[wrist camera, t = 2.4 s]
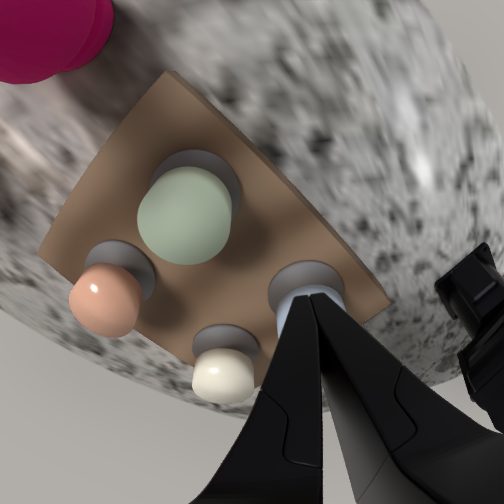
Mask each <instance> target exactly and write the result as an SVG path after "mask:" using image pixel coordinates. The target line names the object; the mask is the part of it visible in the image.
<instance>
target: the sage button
mask: <svg viewBox="0 0 504 504" xmlns="http://www.w3.org/2000/svg"><path fill="white" fill-rule="evenodd" d="M231 215H232V201H231V197H230V194H229V192H228V190H227V188H226V186H225V185H224V184H223V182H222V181H221V180H220V179H219V178H218V177H216V176H215V175H214V174H212V173H211V172H209V171H207V170H204V169H201V168H198V167H189V166H186V167H179V168H175V169H172V170H170V171H168V172H166V173H165V174H163V175H162V176H161V177H160V178H159V179H158V180H157V181H156V182H155V183H154V185H153V186H152V187H151V189H150V190H149V191H148V193H147V194H146V195H145V197H144V198H143V200H142V202H141V204H140V206H139V209H138V214H137V223H138V229H139V232H140V235H141V237H142V239H143V241H144V242H145V244H146V245H147V246H148V248H149V249H150V250H151V251H152V252H153V253H155V254H156V255H157V256H159V257H160V258H162V259H164V260H166V261H169V262H172V263H175V264H180V265H194V264H199V263H202V262H205V261H207V260H209V259H211V258H213V257H214V256H216V255H217V254H218V253H219V252H220V251H221V250H222V248H223V247H224V246H225V244H226V242H227V240H228V237H229V233H230V226H231Z"/></svg>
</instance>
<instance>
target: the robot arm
mask: <svg viewBox="0 0 504 504" xmlns="http://www.w3.org/2000/svg"><path fill="white" fill-rule="evenodd" d="M439 285H440V286H439ZM434 287H435V289H436V290H437V292H438V294H439V296H440V297H441V299H442V301H443V303H444V304H445V306H446V308H447V310H448V312H449V314H450V315H451V317H452V319H453V320H455V319H457V318H459V319H460V321H461V323H462V324H463V326H464V327H465V329H466V330H467V332H468V334H469V335H470V337H471V338H472V341H471V342H470V343H469V344H468V345H467V346H466V347H465V348H464V349H463V350H461V351H460V352H459V353H458V354H457V356H458V359H459V364H460V367H461V371H462V374H463V377H464V380H465V384H466V387H467V390H468V394H469V395H470V399H471V401H472V402H476V404H477V405H478V406H479V407H480V408H482V409H483V410H485V411H487V413H488V415H489V417H490V419H491V421H492V423H493V425H494V427H495V429H496V430H498V431H500V432H501V433H503V434H501V433H497V432H494V431H491V430H489V429H486V428H485V427H483V426H481V425H479V424H478V423H477V422H475V421H474V420H472V419H471V418H470V417H468V416H467V415H466V414H464V413H463V412H461V411H460V410H459V409H457V408H456V407H454V406H453V405H452V404H450V403H449V402H448V401H446V400H445V399H444V398H442V397H441V396H440V395H438V394H437V393H436V392H435V391H433V390H432V389H430V388H429V387H428V386H427V385H426V384H425V383H423V382H422V381H421V380H420V379H419V378H418V377H417V376H415V375H414V374H413V373H412V372H411V371H410V370H409V369H408V368H407V367H406V366H404V365H403V366H402V363H401V362H400V361H399V360H398V359H397V358H396V357H395V356H394V355H393V354H392V353H390V352H389V351H388V350H387V349H386V348H385V347H384V346H383V345H382V344H381V343H380V342H379V341H377V340H376V339H375V338H374V337H373V336H372V335H371V334H370V333H369V332H368V331H367V330H365V329H364V328H363V327H362V326H361V325H360V324H359V323H358V322H357V321H356V320H355V319H353V318H352V317H351V316H350V315H349V314H348V313H347V312H346V311H345V310H344V309H342V308H341V307H340V306H339V305H338V304H337V303H336V302H335V301H334V300H332V299H331V298H330V297H329V296H328V295H327V294H326V293H324V292H320V293H313V294H310V296H309V295H299V296H295V297H294V298H293V300H292V303H291V306H290V308H289V311H288V314H287V317H286V320H285V323H284V326H283V328H282V331H281V334H280V337H279V340H278V342H277V345H276V348H275V351H274V353H273V356H272V359H271V362H270V364H269V367H268V370H267V372H266V375H265V378H264V380H263V383H262V386H261V388H260V389H261V390H260V391H259V393H258V395H257V398H256V401H255V403H254V405H253V408H252V410H251V412H250V414H249V417H248V419H247V421H246V423H245V425H244V426H243V428H242V430H241V432H240V434H239V436H238V437H237V439H236V441H235V443H234V444H233V446H232V447H231V449H230V451H229V452H228V454H227V455H226V457H225V459H224V460H223V462H222V463H221V465H220V467H219V468H218V470H217V471H216V473H215V474H214V476H213V477H212V479H211V481H210V482H209V483H208V485H207V486H206V487H205V488H204V490H203V491H202V492H201V493H200V494H199V495H198V496H197V497H196V498H195V499H194V500H193V501H191V502H190V503H189V504H323V470H322V469H323V422H322V387H321V381H322V384H323V388H324V391H325V394H326V398H327V401H328V405H329V408H330V411H331V414H332V418H333V421H334V425H335V429H336V432H337V436H338V439H339V443H340V446H341V450H342V453H343V457H344V460H345V464H346V468H347V471H348V475H349V479H350V482H351V486H352V490H353V493H354V497H355V501H356V503H357V504H504V278H503V277H502V276H501V275H500V273H499V272H498V271H497V270H496V267H495V263H494V260H493V257H492V254H491V251H490V248H489V246H488V244H487V243H485V242H483V243H482V244H480V245H479V246H478V247H477V248H476V249H475V250H474V251H473V252H471V253H470V254H469V255H468V256H467V257H466V258H464V259H463V260H462V261H461V262H460V263H458V264H457V265H456V266H455V267H454V268H452V269H451V270H450V271H449V272H448V273H446V274H445V275H444V276H443V277H441V278H440V279H439V280H438V281H436V283H435V285H434Z"/></svg>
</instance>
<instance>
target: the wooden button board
mask: <svg viewBox="0 0 504 504" xmlns="http://www.w3.org/2000/svg"><path fill="white" fill-rule="evenodd" d="M186 166H189V167H198V168H201V169H204V170H207V171H209V172H211V173H212V174H214V175H215V176H216V177H218V178H219V179H220V180H221V181H222V182H223V184H224V185H225V186H226V188H227V190H228V192H229V194H230V197H231V201H232V215H231V226H230V233H229V237H228V240H227V242H226V244H225V246H224V247H223V248H222V250H221V251H220V252H219V253H218V254H217V255H216V256H214V257H213V258H211V259H209V260H207V261H205V262H202V263H199V264H194V265H180V264H175V263H172V262H169V261H166V260H164V259H162V258H160V257H159V256H157V255H156V254H155V253H153V252H152V251H151V250H150V249H149V248H148V246H147V245H146V244H145V242H144V241H143V239H142V237H141V235H140V232H139V229H138V223H137V214H138V209H139V206H140V204H141V202H142V200H143V198H144V197H145V195H146V194H147V193H148V191H149V190H150V189H151V187H152V186H153V185H154V183H155V182H156V181H157V180H158V179H159V178H160V177H161V176H162V175H163V174H165V173H166V172H168V171H170V170H172V169H175V168H179V167H186ZM37 255H39V256H40V257H41V258H42V259H43V260H44V261H45V262H47V263H48V264H49V265H50V266H51V267H53V268H54V269H55V270H56V271H57V272H59V273H60V274H61V275H62V276H63V277H65V278H66V279H67V280H68V281H70V282H71V283H72V284H73V285H75V284H76V283H77V281H78V280H79V278H80V277H81V275H82V273H83V272H84V270H85V269H86V268H87V267H89V266H90V265H92V264H95V263H99V262H106V263H112V264H115V265H118V266H120V267H122V268H123V269H125V270H127V271H128V272H129V273H130V274H131V275H133V277H134V278H135V279H136V280H137V281H138V283H139V285H140V287H141V289H142V292H143V303H142V305H141V308H140V311H139V314H138V316H137V319H136V322H135V325H134V327H133V329H135V330H136V331H138V332H139V333H141V334H142V335H144V336H145V337H147V338H148V339H150V340H151V341H153V342H154V343H156V344H157V345H159V346H160V347H162V348H163V349H165V350H167V351H168V352H170V353H171V354H173V355H175V356H176V357H178V358H180V359H181V360H183V361H184V362H186V363H188V364H189V365H191V366H193V367H195V361H196V359H197V357H198V356H199V355H200V354H202V353H203V352H205V351H208V350H211V349H217V348H227V349H233V350H237V351H240V352H242V353H244V354H245V355H247V356H248V357H249V358H250V359H251V360H252V362H253V365H254V389H255V388H257V387H258V386H260V385H262V383H263V380H264V378H265V375H266V372H267V370H268V367H269V364H270V362H271V359H272V356H273V353H274V351H275V348H276V345H277V342H278V340H279V339H278V330H277V321H276V309H277V306H278V304H279V302H280V301H281V300H282V298H283V297H284V296H285V295H287V294H288V293H289V292H291V291H292V290H294V289H296V288H299V287H302V286H306V285H324V286H328V287H330V288H332V289H334V290H335V291H337V292H338V293H339V295H340V296H341V298H342V300H343V303H344V306H345V309H346V311H347V313H348V314H349V315H350V316H351V317H352V318H353V319H355V320H356V321H357V322H358V323H359V324H360V325H362V324H363V323H365V322H366V321H368V320H369V319H371V318H372V317H373V316H375V315H376V314H378V313H379V312H381V311H382V310H383V309H385V308H386V307H388V306H389V305H390V304H391V302H390V301H389V299H388V297H387V295H386V293H385V291H384V289H383V287H382V285H381V284H380V283H379V281H378V280H377V279H376V278H375V277H374V275H373V274H372V273H371V272H370V271H369V269H368V268H367V267H366V266H365V265H364V263H363V262H362V261H361V260H360V259H359V258H358V256H357V255H356V254H355V253H354V252H353V250H352V249H351V248H350V247H349V246H348V245H347V244H346V242H345V241H344V240H343V239H342V238H341V237H340V236H339V234H338V233H337V232H336V231H335V230H334V229H333V228H332V226H331V225H330V224H329V223H328V222H327V221H326V220H325V219H324V218H323V216H322V215H321V214H320V213H319V212H318V211H317V210H316V209H315V208H314V207H313V205H312V204H311V203H310V202H309V201H308V200H307V199H306V198H305V197H304V196H303V195H302V194H301V193H300V191H299V190H298V189H297V188H296V187H295V186H294V185H293V184H292V183H291V182H290V181H289V180H288V179H287V178H286V177H285V176H284V175H283V174H282V173H281V171H280V170H279V169H278V168H277V167H276V166H275V165H274V164H273V163H272V162H271V161H270V160H269V159H268V158H267V157H266V156H265V155H264V154H263V153H262V152H261V151H260V150H259V149H258V148H257V147H256V146H255V145H254V144H253V143H252V142H251V141H250V140H249V139H248V138H247V137H246V136H245V135H244V134H243V133H242V132H241V131H240V130H239V129H238V128H236V127H235V126H234V125H233V124H232V123H231V122H230V121H229V120H228V119H227V118H226V117H225V116H224V115H223V114H222V113H221V112H220V111H219V110H218V109H216V108H215V107H214V106H213V105H212V104H211V103H210V102H209V101H208V100H207V99H206V98H205V97H203V96H202V95H201V94H200V93H199V92H198V91H197V90H196V89H195V88H194V87H192V86H191V85H190V84H189V83H188V82H187V81H186V80H185V79H183V78H182V77H181V76H180V75H179V74H178V73H177V72H175V71H165V72H164V73H163V74H162V75H161V76H160V77H159V78H158V79H157V80H156V81H155V83H154V84H153V85H152V86H151V87H150V88H149V89H148V90H147V92H146V93H145V94H144V95H143V96H142V97H141V99H140V100H139V101H138V102H137V103H136V104H135V106H134V107H133V108H132V109H131V110H130V112H129V113H128V114H127V115H126V117H125V118H124V119H123V120H122V122H121V123H120V124H119V125H118V127H117V128H116V129H115V131H114V132H113V133H112V134H111V136H110V137H109V138H108V140H107V141H106V142H105V144H104V145H103V147H102V148H101V149H100V151H99V152H98V153H97V155H96V156H95V158H94V159H93V161H92V162H91V163H90V165H89V166H88V168H87V169H86V171H85V172H84V174H83V175H82V177H81V178H80V180H79V181H78V183H77V184H76V186H75V187H74V189H73V191H72V192H71V194H70V195H69V197H68V199H67V200H66V202H65V204H64V205H63V207H62V209H61V210H60V212H59V214H58V215H57V217H56V219H55V221H54V222H53V224H52V226H51V228H50V229H49V231H48V233H47V235H46V237H45V239H44V240H43V242H42V244H41V246H40V248H39V250H38V252H37Z"/></svg>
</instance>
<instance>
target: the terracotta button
mask: <svg viewBox="0 0 504 504" xmlns="http://www.w3.org/2000/svg"><path fill="white" fill-rule="evenodd" d="M142 303H143V292H142V289H141V287H140V285H139V283H138V281H137V280H136V279H135V278H134V277H133V275H131V274H130V273H129V272H128V271H127V270H125V269H123V268H122V267H120V266H118V265H115V264H112V263H106V262H99V263H95V264H92V265H90V266H89V267H87V268H86V269H85V270H84V272H83V273H82V275H81V277H80V278H79V280H78V281H77V283H76V284H75V286H74V287H73V289H72V291H71V292H70V296H69V304H70V308H71V310H72V312H73V314H74V316H75V317H76V318H77V320H78V321H79V322H80V323H81V324H82V325H83V326H85V327H86V328H87V329H89V330H90V331H92V332H94V333H96V334H99V335H101V336H105V337H122V336H125V335H127V334H128V333H130V332H131V330H132V329H133V327H134V325H135V322H136V319H137V316H138V314H139V311H140V308H141V305H142Z"/></svg>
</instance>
